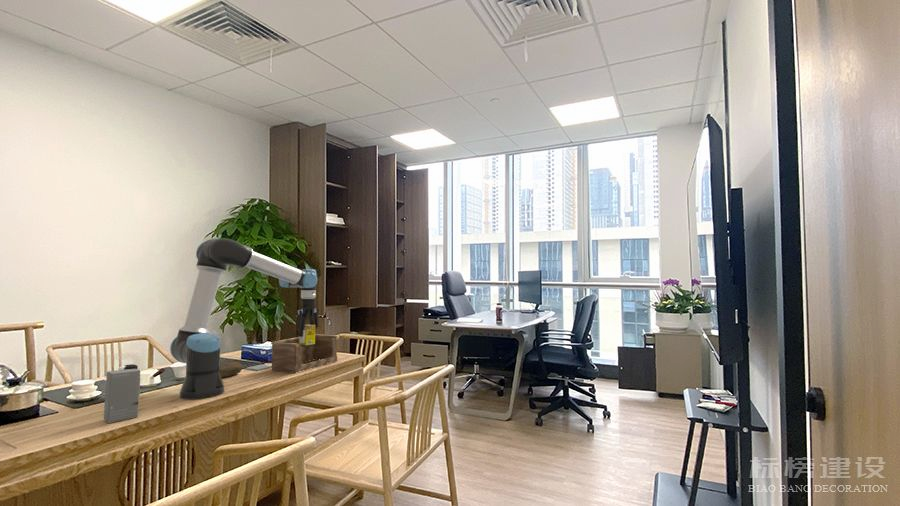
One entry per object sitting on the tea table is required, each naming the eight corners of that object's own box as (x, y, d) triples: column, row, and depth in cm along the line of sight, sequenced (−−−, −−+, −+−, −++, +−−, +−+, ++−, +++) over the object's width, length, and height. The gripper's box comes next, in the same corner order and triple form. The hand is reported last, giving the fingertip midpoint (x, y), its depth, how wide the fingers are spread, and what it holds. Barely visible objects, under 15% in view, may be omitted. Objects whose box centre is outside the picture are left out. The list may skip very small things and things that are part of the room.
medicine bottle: (136, 392, 167) (138, 362, 168) (139, 395, 162) (140, 365, 163) (114, 395, 162) (115, 365, 163) (116, 399, 157) (117, 368, 158)
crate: (294, 373, 198) (295, 344, 199) (270, 370, 205) (271, 342, 206) (338, 361, 226) (338, 335, 227) (315, 358, 233) (315, 333, 234)
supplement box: (315, 345, 218) (315, 324, 218) (306, 347, 213) (306, 325, 213) (307, 344, 221) (308, 324, 222) (298, 345, 216) (299, 325, 217)
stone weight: (215, 381, 184) (216, 366, 184) (204, 380, 186) (204, 365, 186) (243, 374, 198) (243, 360, 198) (232, 373, 200) (232, 359, 200)
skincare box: (107, 424, 131) (109, 374, 132) (102, 419, 136) (104, 370, 137) (139, 417, 138) (141, 369, 139) (134, 412, 142) (135, 366, 143)
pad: (257, 370, 204) (257, 369, 204) (245, 369, 208) (245, 368, 208) (272, 367, 212) (272, 366, 212) (260, 365, 216) (260, 364, 216)
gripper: (299, 299, 208) (298, 345, 207) (326, 297, 226) (325, 340, 224) (289, 298, 211) (287, 343, 210) (316, 297, 229) (314, 339, 227)
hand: (307, 341), depth 217 cm, fingers closed on supplement box, 6 cm apart
